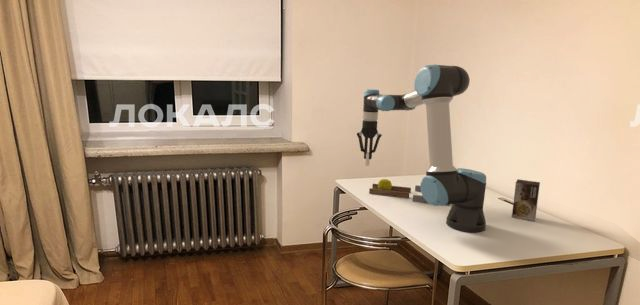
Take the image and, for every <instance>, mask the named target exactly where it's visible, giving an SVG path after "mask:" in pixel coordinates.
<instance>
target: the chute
mask: <svg viewBox="0 0 640 305" xmlns="http://www.w3.org/2000/svg"><path fill="white" fill-rule="evenodd" d="M371 187H372V188H371ZM371 187H369V189H368V190H369V191H368V194H369V195H379V196H387V197H396V198H403V199H410V194H411V192H412V187H407V186H400V185H397V186H396V185H392V188H391V190H381V189H378V183H372V185H371Z"/></svg>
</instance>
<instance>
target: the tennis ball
mask: <svg viewBox="0 0 640 305" xmlns="http://www.w3.org/2000/svg"><path fill="white" fill-rule="evenodd" d="M377 184H378V189H381V190H391V188H392V186H393V185H392V184H393V183H392V182H391V181H390V180H389V179H388V178H382V179H380V180H379V181H378V183H377Z"/></svg>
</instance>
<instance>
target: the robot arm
mask: <svg viewBox="0 0 640 305" xmlns="http://www.w3.org/2000/svg"><path fill="white" fill-rule="evenodd" d="M470 80H471V79H470V76H469V73H468V71H467V70H466V69H465V68H463V67H461V66H459V65H444V64H442V65H441V64H435V63H434V64H426V65H423V66H422V67H421V68H420V69H419V70H418V71H417V73H416V76H415V78H414V90H411V91H409V92H407V93H406V92H405V93H404V94H381V93H380V90H379V89H374V88H367V89H365V90H364V93H363V110H362V119H363V120H362V126H361V127H362V128H361V130H360V131H359V132H357V133H356V137H357V138H358V142H359V148H360V152H363V159H364V160H365V164H364V165H365V167H368V166H370V160H371V159H372V157H373V154H374V153H375V152H376V150H377V148H378V145H379V141H380V139H381V138H382V136H383V134H381V133H380V132H378V118H379V117H378V116H379V111H381V112H390V111H405V112H406V111H414V110H415V109H416V108H417V107H419V106H422V105H425V106H426V107H425V109H426V125H427V126H426V127H427V128H426V129H427V142H428V159H429V162H428V163H429V166H428V168H427V169H426V170H425V176H424V177H423V178H422V179H421V182H420V185H419V186H420V187H421V192H420V193H421V196H423V197H424V199H426V201H427V202H428V203H427V204H429V205H431V206H435V207H437V206H439V207H440V206H441V207H443V206H449V205H452V206H451V208H450V209H449V211H448V214H447V216H446V221H445V223H446V225H447V226H448V227H450V228H452V229H454V230H457V231H460V232H465V233H481V232H484V231H485V230H486V227H487V223H486V222H487V221H486V218H485V214H484V213H485V212H484V205H485V196H486V188H487V175H486V174H485V173H484V172H482V171H477V170H473V169H469V168H462V167H459V168H457V167H455V166H454V165H453V164H454V163H453V161H454V160H453V146H452V129H451V127H452V126H451V114H450V103H451V102H452V100H453V99H454V97H456V96H459V95H462V94H463V93H465V92H466V91H467V90H468V89H469V86H470ZM362 136H363V137H364V142H363V137H362ZM375 137H376V140H375V142H374V138H375ZM373 143H374V144H373ZM373 145H374V146H373ZM368 147H369V150H368ZM448 204H449V205H448Z"/></svg>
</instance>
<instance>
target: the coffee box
mask: <svg viewBox="0 0 640 305" xmlns="http://www.w3.org/2000/svg"><path fill="white" fill-rule="evenodd" d="M540 186H541V182H540V181H532V180H524V179H519V178H518V179H516V182H515V188H514V196H513V203H512V204H513V205H512V212H511V218H514V219H520V220H525V221H530V222H535V221H536V218H537V217H536V216H537V210H538V209H537V208H538V203H539V202H538V200H539V195H540V194H539V192H540Z"/></svg>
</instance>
